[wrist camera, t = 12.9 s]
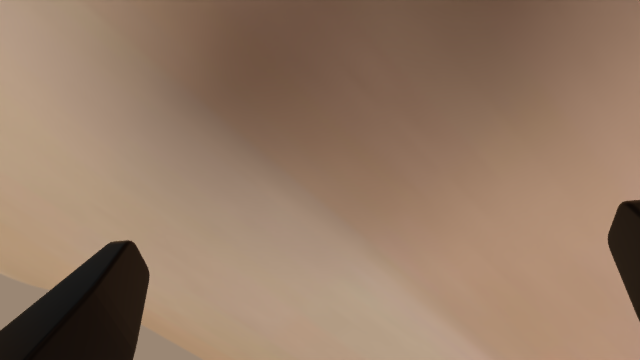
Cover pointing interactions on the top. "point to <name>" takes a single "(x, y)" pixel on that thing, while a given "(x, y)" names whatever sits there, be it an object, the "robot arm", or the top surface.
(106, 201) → the top surface
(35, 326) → the robot arm
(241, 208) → the top surface
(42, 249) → the top surface
